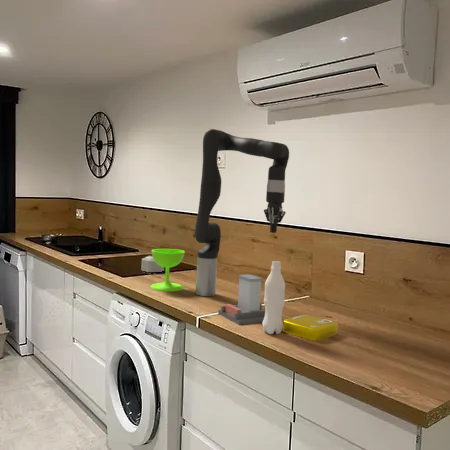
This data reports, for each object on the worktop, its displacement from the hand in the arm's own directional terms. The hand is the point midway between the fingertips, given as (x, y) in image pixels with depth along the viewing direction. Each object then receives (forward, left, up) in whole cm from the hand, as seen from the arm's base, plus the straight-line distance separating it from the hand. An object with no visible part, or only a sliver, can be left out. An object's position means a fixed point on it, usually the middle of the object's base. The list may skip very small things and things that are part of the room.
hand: (273, 232), depth 200 cm
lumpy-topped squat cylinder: (-91, -18, -32) cm, 98 cm away
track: (+10, -16, -32) cm, 37 cm away
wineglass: (-48, -27, -32) cm, 64 cm away
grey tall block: (+10, -16, -30) cm, 36 cm away
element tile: (+34, -6, -33) cm, 48 cm away
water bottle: (+30, -19, -32) cm, 48 cm away
